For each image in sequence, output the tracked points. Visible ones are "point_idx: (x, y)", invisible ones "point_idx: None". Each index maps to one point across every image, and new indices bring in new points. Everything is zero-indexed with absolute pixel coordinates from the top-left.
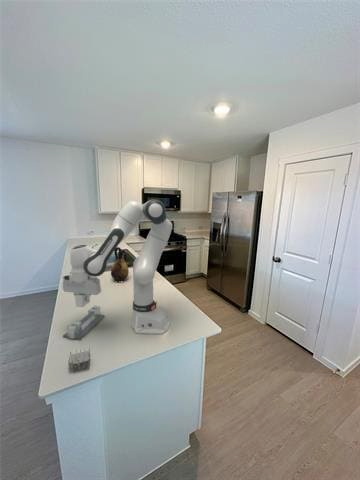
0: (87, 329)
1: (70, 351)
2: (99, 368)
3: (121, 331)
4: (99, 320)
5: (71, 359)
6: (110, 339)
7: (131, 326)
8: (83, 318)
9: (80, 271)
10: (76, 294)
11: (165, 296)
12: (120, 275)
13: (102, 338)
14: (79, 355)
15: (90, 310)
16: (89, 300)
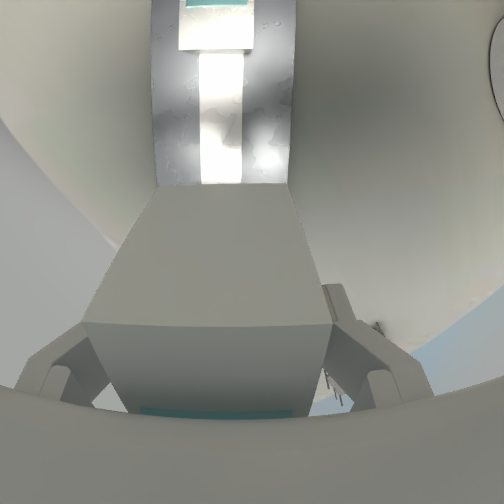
0: (274, 178)
1: (328, 388)
2: (416, 338)
3: (463, 145)
4: (293, 54)
5: (340, 387)
6: (428, 213)
7: (498, 106)
8: (153, 68)
9: None
10: (84, 379)
11: None
12: None
13: (389, 213)
14: None
15: (200, 41)
16: (290, 199)
